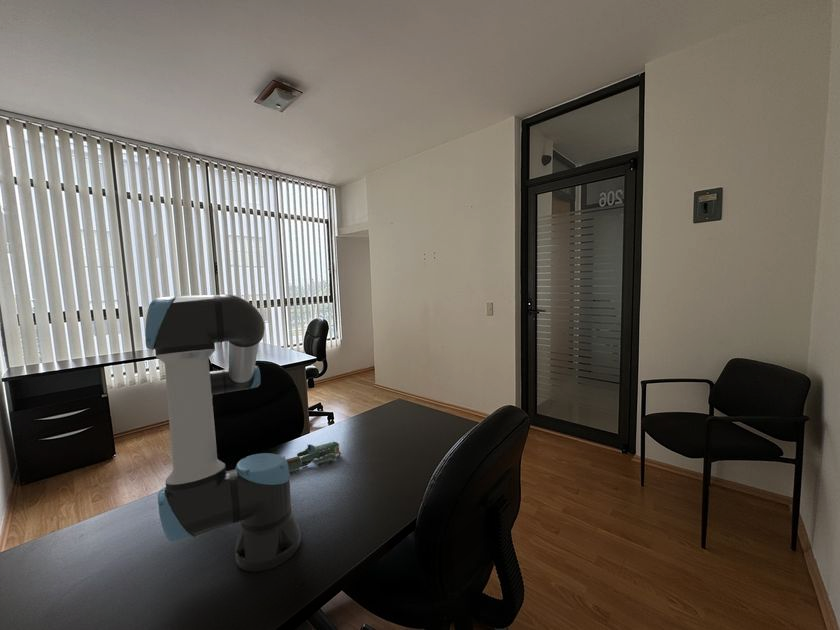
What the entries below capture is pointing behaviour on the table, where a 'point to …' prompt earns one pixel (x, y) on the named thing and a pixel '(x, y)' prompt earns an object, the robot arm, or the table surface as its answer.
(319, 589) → the table surface
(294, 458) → the hoverbike
